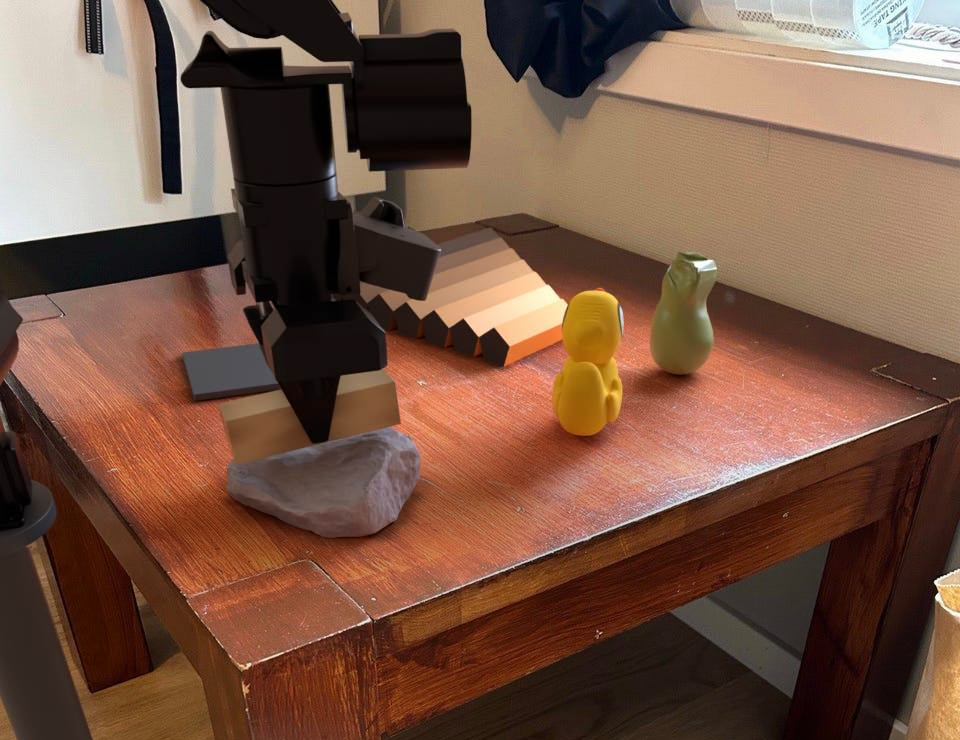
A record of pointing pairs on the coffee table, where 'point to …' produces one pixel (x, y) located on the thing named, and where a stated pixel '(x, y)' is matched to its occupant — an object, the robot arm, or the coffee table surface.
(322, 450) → the stone block
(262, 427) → the maple bar
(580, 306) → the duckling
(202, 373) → the grey mat
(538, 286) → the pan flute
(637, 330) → the coffee table surface
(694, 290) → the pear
